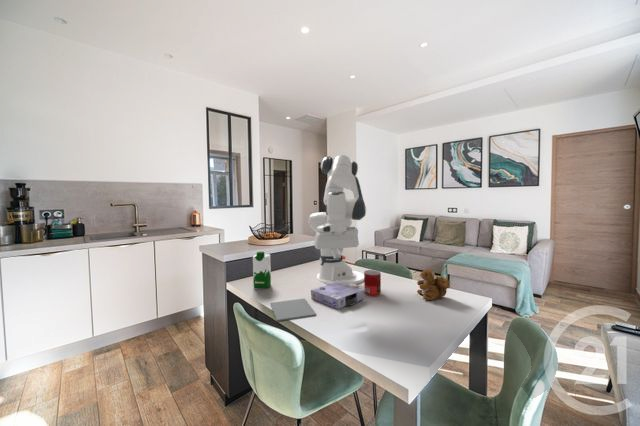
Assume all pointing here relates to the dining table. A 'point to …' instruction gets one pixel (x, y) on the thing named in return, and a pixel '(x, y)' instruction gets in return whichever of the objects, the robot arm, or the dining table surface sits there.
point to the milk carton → (261, 270)
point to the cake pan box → (337, 295)
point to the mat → (292, 309)
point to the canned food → (372, 282)
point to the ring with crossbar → (346, 282)
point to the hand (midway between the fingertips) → (337, 258)
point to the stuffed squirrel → (432, 285)
